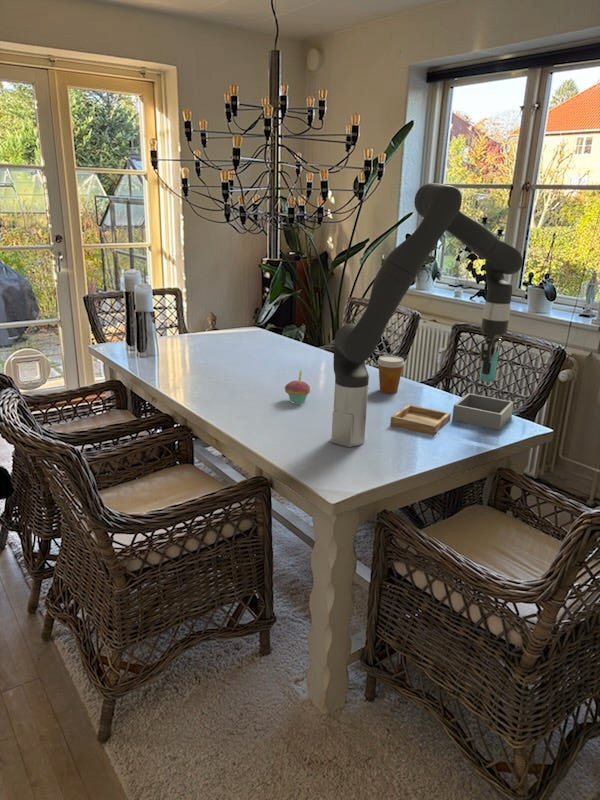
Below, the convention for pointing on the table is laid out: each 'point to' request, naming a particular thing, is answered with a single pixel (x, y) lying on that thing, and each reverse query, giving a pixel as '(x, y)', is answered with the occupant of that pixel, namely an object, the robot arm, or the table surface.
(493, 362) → the peg
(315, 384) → the table surface
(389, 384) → the disposable coffee cup
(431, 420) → the tray
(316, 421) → the table surface
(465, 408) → the deep bin
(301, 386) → the cupcake
